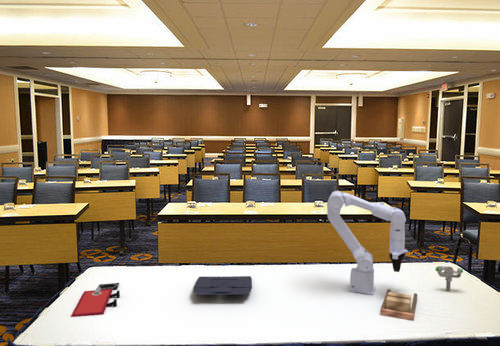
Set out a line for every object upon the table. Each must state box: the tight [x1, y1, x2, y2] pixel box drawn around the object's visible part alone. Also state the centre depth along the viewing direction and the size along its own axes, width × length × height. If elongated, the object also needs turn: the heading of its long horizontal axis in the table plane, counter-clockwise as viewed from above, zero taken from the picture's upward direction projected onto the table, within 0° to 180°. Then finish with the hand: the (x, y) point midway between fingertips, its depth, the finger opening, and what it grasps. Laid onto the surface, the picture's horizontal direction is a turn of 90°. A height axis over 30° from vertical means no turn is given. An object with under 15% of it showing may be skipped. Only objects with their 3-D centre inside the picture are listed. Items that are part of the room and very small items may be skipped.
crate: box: [386, 291, 412, 313], centre depth 157 cm, size 8×8×6 cm
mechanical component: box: [435, 265, 464, 292], centre depth 176 cm, size 3×10×10 cm, turn 79°
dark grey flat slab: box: [192, 275, 253, 296], centre depth 179 cm, size 24×30×4 cm
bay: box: [379, 288, 418, 321], centre depth 162 cm, size 11×21×2 cm, turn 155°
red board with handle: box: [70, 282, 121, 318], centre depth 169 cm, size 30×3×15 cm
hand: (396, 271), depth 173 cm, fingers closed
